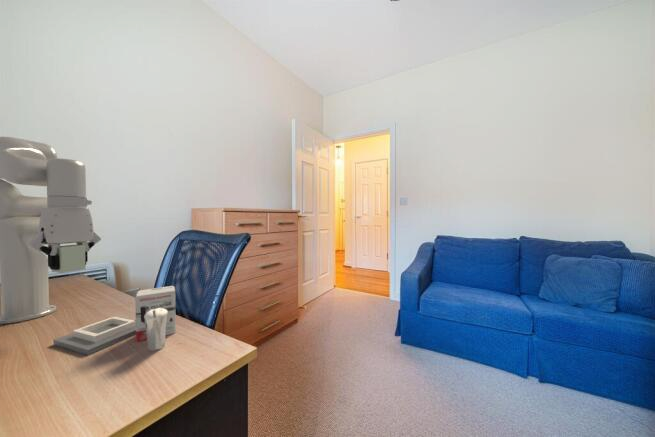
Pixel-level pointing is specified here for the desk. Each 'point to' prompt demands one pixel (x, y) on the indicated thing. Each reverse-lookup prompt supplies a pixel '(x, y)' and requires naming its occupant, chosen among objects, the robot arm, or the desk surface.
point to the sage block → (71, 258)
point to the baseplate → (98, 335)
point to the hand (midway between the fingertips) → (68, 266)
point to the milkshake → (156, 328)
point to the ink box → (152, 301)
